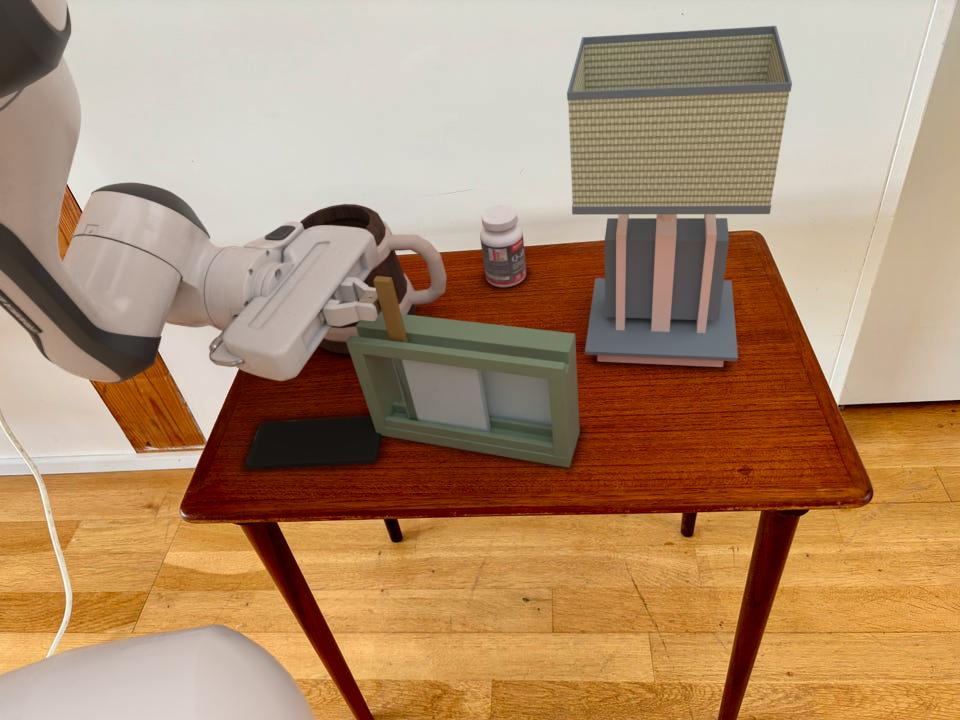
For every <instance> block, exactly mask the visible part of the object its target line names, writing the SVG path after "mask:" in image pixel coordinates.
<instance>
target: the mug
mask: <svg viewBox="0 0 960 720" xmlns="http://www.w3.org/2000/svg"><path fill="white" fill-rule="evenodd" d="M299 222H300V223H302V225H303V227H304V229H305V230H306V229H308V228H310V227H314V226H320V225H332V226H346V227H356V228H362V229H366V230H368V231H369V232H370V233H371V234H372V235H373V236H374V238H375V242H376V245H377V249H378V254H379V261H378V262H377V264H376V265H375V266H374V268H373V269H372V271H371V272H370V274H369V275H368V276H367V278H366V279H365V281H364V283H365V284H366V285H368V286H369V287H372V288H375V285H374V282H373V281H374V279H375V278H376V276H381V277H391V278H392V281H393V285H394V289H395V292H396V296H397V300H398V304H399V308H400V312H401V314H406V315H415V316H417V310H416V309H417V306H418V305H419V306H420V305H426V304H432V303H434V302H435V301H436V300H437V299H438V298H440V297H441V296H443V294H445V292H446V287H447V278H448V277H447V273H446V269H445V266H444V262H443V259H442V258H443V257H442V255H441V253H440V252H439V251H438V250H437V249H436V247H435V246H434V245H433V244H432V243H431V242H430V241H429V240H427V239H425V238H423V237H421V235H418V234H401V233H400V234H399V233H398V234H393V233H392V231H391V229H390V227H389V225H388V223H387V222H386V221H385V220H382V218H381V216H380V214H379V213H378V212H377V211H375V210H373V209H371V207H370V208H369V207H367V206H364V205H360V204H355V203H354V204H353V203H342V204H336V205H329V206H327V207H324V208H320V209H318V210H316V211H313V212H312V213H310V214H308V215H307V216H305V217H304V218H303V219H302V220H300V221H299ZM397 251H399V252H400V251H411V252H414V253H415V254H418V255H419V256H420V257H421V258H422V259H423V260H424V261H425V262H426V266H427V270H428V273H429V274H428V275H429V277H430V286H429V287H428V288H427V289H421V290H415V288H414V286H413V285H412V282H411V280H410V279H409V277H408V276H407V275H406V274H405V273H404V271H403V268H402V265H401V263H400V261H399V258H398V255H397V253H396V252H397ZM358 301H359V299H358ZM349 303H350V302H349ZM381 312H382V311H381ZM358 322H359V321H357V322H354V323H351V324H347V325H344V326H340V327H339V326H332V327H331V329H330V330H329V331H328V333H327V334H326V336H325V337H324V338H323V340H322V341H321V343H320V344H319V346H318V347H319V348H321V349H324V350H326V351H329V352H332V353H335V354H344V355H345V354H347V355H350V352H349V349H348V346H347V343H346V340H347V339H348V337H349V336H357V337H359V335H358V332H357V329H356V325H357V324H358Z"/></svg>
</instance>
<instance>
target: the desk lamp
mask: <svg viewBox="0 0 960 720" xmlns="http://www.w3.org/2000/svg"><path fill="white" fill-rule="evenodd" d="M571 73H572V74H571V77H570V80H569V84H568V87H567V91H566V100H567V104H568V127H569V150H570V173H571V174H570V175H571V176H570V177H571V197H572V198H571V199H572V200H571V201H572V205H571V212H572V213H571V214H572V215H575V216H576V215H578V216H579V215H582V216H583V215H585V216H586V215H617V217H616V218H615V217H613V218H612V217H610V218H609V217H608V218H607V219H606V227H605V235H604V277H603V278H601V277H600V278H598V277H595V278H594V285H593V292H592V299H591V306H590V313H589V321H588V327H587V335H586V340H585V348H584V355H586V356H597V357H596V361H597V362H603V363H604V362H605V363H627V364H646V365H647V364H648V365H666V366H667V365H670V366H689V367H690V366H691V367H692V366H693V367H711V368H713V367H714V368H715V367H716V368H723V367H724V362H727V361H728V362H738V360H739V354H738V340H737V330H736V318H735V317H736V316H735V306H734V305H735V303H734V295H733V283H732V282H733V281H732V280H725V275H726V268H727V261H728V260H727V258H728V252H729V244H730V235H729V226H728V225H729V224H728V218H727V217H724V218H723V217H716V215H770V214H771V210H772V198H773V193H774V186H775V180H776V175H777V168H778V163H779V157H780V152H781V145H782V139H783V134H784V128H785V123H786V114H787V109H788V104H789V98H790V92H792V86H793V81H792V78H791V74H790V70H789V67H788V63H787V60H786V56H785V52H784V48H783V45H782V41H781V38H780V34H779V31H778V27H777V25H766V26H765V25H764V26H747V27H732V28H716V29H715V28H714V29H698V30H684V31H683V30H681V31H665V32H664V31H663V32H648V33H633V34H631V33H629V34H614V35H613V34H611V35H598V36H582V37H581V40H580V45H579V48H578V51H577V55H576V58H575V62H574V66H573V70H572V72H571ZM630 215H656V217H647V218H645V217H643V218H642V217H637V218H635V217H634V218H633V217H632V218H631V217H630ZM677 215H703V218H702V217H700V218H699V217H690V218H689V217H685V218H684V217H678V218H677Z"/></svg>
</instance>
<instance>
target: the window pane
mask: <svg viewBox="0 0 960 720" xmlns="http://www.w3.org/2000/svg"><path fill="white" fill-rule="evenodd" d="M373 282H374V285H375V289H376V292H377V296H378V300H379V303H380V307H381V310H382V314H383V317H384V321H385V325H386V328H387V332H388V335H389V339H390V341H396V342H404V343H408V339H407V335H406V331H405V328H404V324H403V320H402V316H401V312H400V308H399V304H398V300H397V296H396V292H395V289H394V285H393V281H392V278H391V277H381V276H376V278H375V279H374V281H373ZM392 360H393V364H394V367H395V371H396V374H397V378H398V381H399V385H400V388H401V392H402V395H403V399H404V403H405V406H406V410H407V413H408V417H409V420H415V421H421V422H427V423H433V424H440V425H446V426H452V427H458V428H464V429H470V430H476V431H483V432H490V430H491V426H490V420H489V415H488V409H487V403H486V397H485V391H484V385H483V380H482V374H481V370H478V369H471V368H463V367H456V366H448V365H441V364H433V363H426V362H418V361H411V360H404V359H396V358H392Z"/></svg>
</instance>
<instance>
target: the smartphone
mask: <svg viewBox="0 0 960 720" xmlns="http://www.w3.org/2000/svg"><path fill="white" fill-rule="evenodd" d="M382 439H383V436H382V435H381V434H380V433H376V430H375V427H374V424H373V421H372V418H371V415H363V416H362V415H361V416H360V415H359V416H346V417H345V416H344V417H327V418H313V419H312V418H311V419H294V420H278V421H264V422H261V423H260V424H259V426H258V428H257V431H256V434H255V436H254V440H253V442H252V444H251V447H250V450H249V453H248V455H247V458H246V461H245V467H246V469H247V470H249V471H255V470H258V471H259V470H276V469H295V468H296V469H297V468H313V467H315V468H316V467H333V466H350V465H371V464H374V463H376V462H377V461H378V459H379V456H380V450H381V444H382Z"/></svg>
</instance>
